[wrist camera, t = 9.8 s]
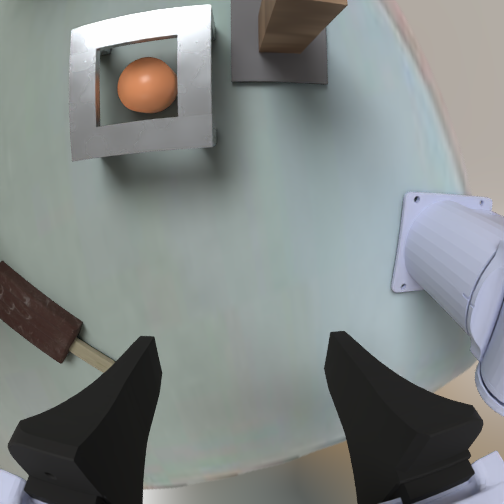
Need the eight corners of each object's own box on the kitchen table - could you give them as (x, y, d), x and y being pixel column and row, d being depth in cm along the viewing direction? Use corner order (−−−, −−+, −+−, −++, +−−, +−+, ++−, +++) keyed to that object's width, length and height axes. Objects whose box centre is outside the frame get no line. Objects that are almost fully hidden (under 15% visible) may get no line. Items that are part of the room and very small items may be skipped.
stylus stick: (299, 18, 16) (341, -46, 8) (300, 53, 17) (347, 5, 9) (257, 16, 16) (274, -54, 7) (258, 52, 17) (277, -3, 8)
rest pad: (322, 4, 16) (324, 3, 15) (326, 84, 18) (327, 83, 18) (230, 0, 16) (230, -2, 15) (231, 82, 18) (231, 81, 17)
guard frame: (215, 26, 16) (210, 4, 13) (216, 143, 19) (212, 147, 16) (97, 43, 16) (71, 29, 12) (99, 154, 19) (72, 161, 15)
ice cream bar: (131, 349, 25) (-2, 253, 21) (126, 361, 24) (-12, 261, 20) (110, 380, 27) (-11, 294, 23) (105, 392, 25) (-20, 302, 21)
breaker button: (178, 60, 17) (173, 53, 15) (179, 110, 18) (173, 108, 16) (128, 67, 17) (117, 62, 15) (128, 116, 18) (118, 115, 16)
